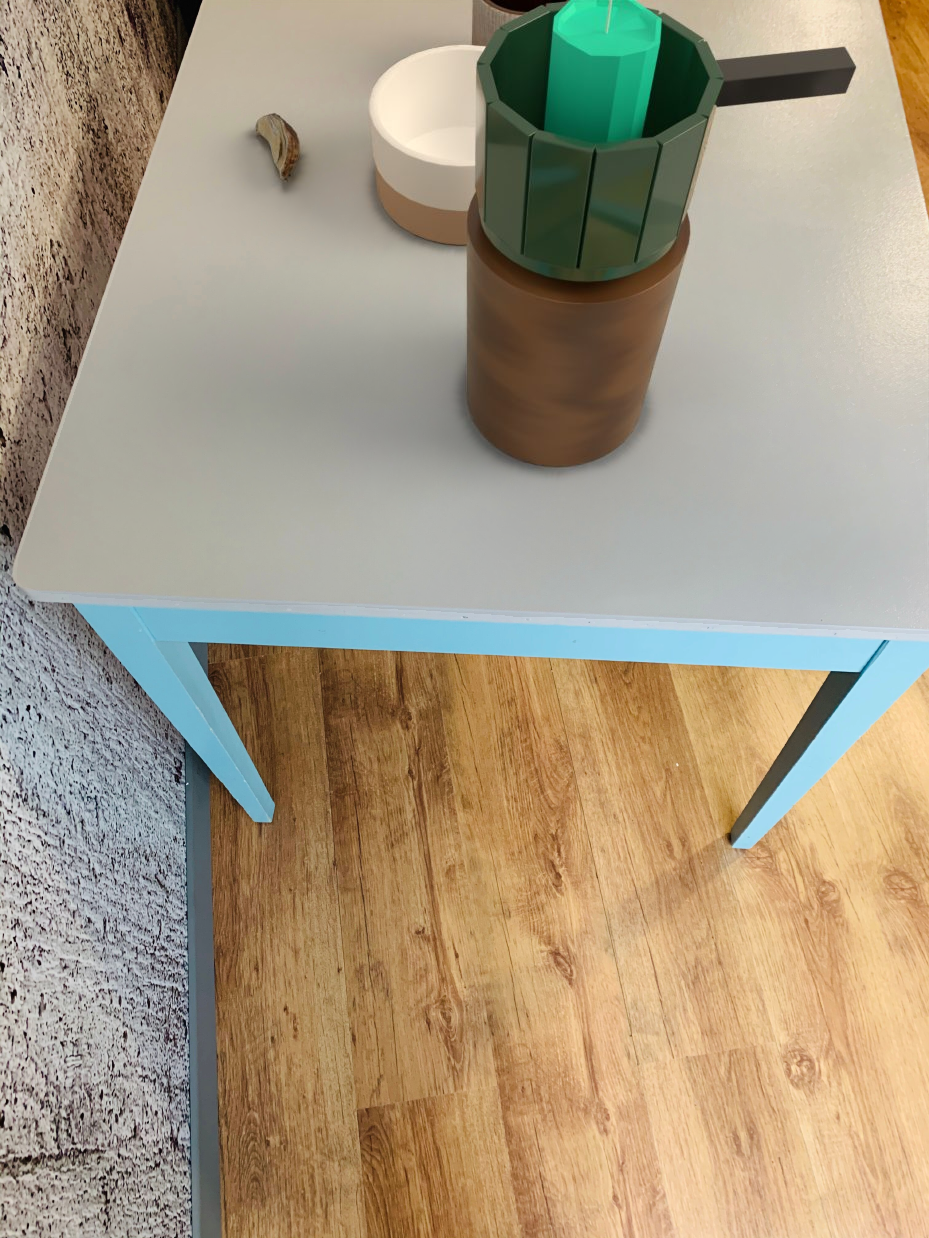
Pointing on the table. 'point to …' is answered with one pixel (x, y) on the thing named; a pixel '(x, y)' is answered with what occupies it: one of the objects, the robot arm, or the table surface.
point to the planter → (499, 15)
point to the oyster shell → (280, 142)
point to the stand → (561, 352)
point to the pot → (612, 147)
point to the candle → (601, 70)
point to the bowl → (427, 141)
